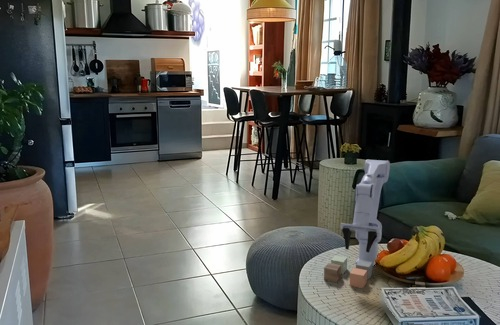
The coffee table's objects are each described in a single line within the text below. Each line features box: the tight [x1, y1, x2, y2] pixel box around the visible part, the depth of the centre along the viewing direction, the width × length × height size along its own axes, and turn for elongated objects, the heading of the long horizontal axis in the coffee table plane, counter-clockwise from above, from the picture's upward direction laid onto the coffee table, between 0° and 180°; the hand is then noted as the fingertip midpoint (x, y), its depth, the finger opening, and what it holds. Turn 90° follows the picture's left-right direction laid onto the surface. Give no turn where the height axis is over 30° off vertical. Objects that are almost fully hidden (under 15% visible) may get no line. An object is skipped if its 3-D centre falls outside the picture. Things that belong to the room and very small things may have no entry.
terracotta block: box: [349, 267, 368, 289], centre depth 169 cm, size 5×5×5 cm
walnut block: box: [323, 262, 342, 283], centre depth 173 cm, size 5×5×5 cm
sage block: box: [330, 254, 348, 275], centre depth 180 cm, size 5×5×5 cm
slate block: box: [355, 260, 373, 280], centre depth 175 cm, size 5×5×5 cm
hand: (357, 250), depth 166 cm, fingers open, 7 cm apart
